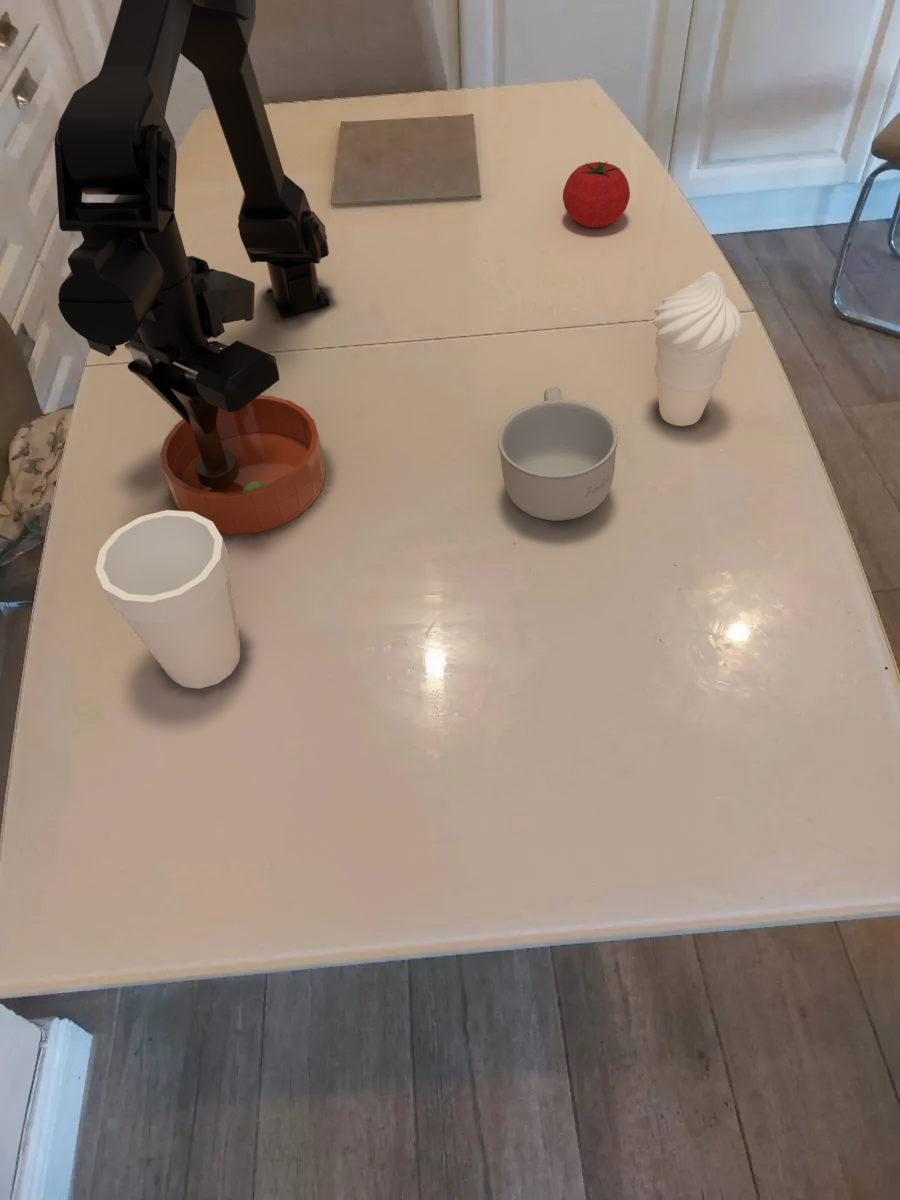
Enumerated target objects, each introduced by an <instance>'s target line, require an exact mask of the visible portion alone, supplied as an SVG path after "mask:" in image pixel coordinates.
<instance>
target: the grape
mask: <svg viewBox="0 0 900 1200" xmlns="http://www.w3.org/2000/svg"><path fill="white" fill-rule="evenodd" d="M264 485H267V484H266V483H264V482H260V481H255V482H251V483H249V484H248V485H247V486H246V487H245V488H244V490H243V491H247V490H252V489H255V488H258V487H261V486H264Z"/></svg>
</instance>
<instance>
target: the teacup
mask: <svg viewBox="0 0 900 1200" xmlns="http://www.w3.org/2000/svg"><path fill="white" fill-rule="evenodd" d="M618 442H619V433H618V429H617V427H616V424H615V423H614V420H612V418H611V417H610V416H609V415H608V414H607V413H606V412H604V411H603V410H602V409H600V408H598V407H596V406H594V405H592V404H589V403H587V402H582V401H577V400H570V399H569V400H568V399H562V391H561V388H559V386H558V387H557V386H551V387H547V388H546V389H544V393H543V401H539V402H535V403H532V404H529V405H526V406H524V407H522V408H521V409H518V410H516V412H514V413H513V414H511V415H510V416H509V417H508V418H507V419H506V420H505V421H504V423H502V426H501V428H500V430H499V432H498V436H497V446H498V451H499V455H500V463H501V464H500V465H501V466H500V467H501V472H502V473H501V474H502V479H503V483H504V487H505V490H506V493H507V495H508V497H509V498H510V499H511V501H512V502H513V504H514V505H515V506H516V507H517V508H519V509H520V510H521V511H523V512H524V513H526V514H527V515H529V516H532V517H535V518H537V519H540V520H546V521H554V522H555V521H567V520H568V521H569V520H574V519H578V518H580V517H582V516H585V515H587V514H589V513H591V512H593V511H594V510H595V509H596V508H597V507H599V506H600V505H601V504H602V503H603V501H604V500H605V499H606V498H607V496H608V495H609V492H610V490H611V488H612V484H613V481H614V475H615V468H616V467H615V466H616V456H617V454H616V453H617V447H618Z"/></svg>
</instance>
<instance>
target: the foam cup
mask: <svg viewBox="0 0 900 1200" xmlns="http://www.w3.org/2000/svg"><path fill="white" fill-rule="evenodd" d="M230 560H231V559H230V556H229V553H228V550H227V547H226V545H225V541H224V538H223V536H222V534H221V533H219V532H218V530H217V528H216V527H215V525H214V523H213V522H212V521H210V520H208V519H206V518H204V517H202V516H200V515H198V514H196V513H194V512H188V511H180V510H170V509H166V510H162V511H158V512H154V513H149V514H145V515H141V516H138V517H136V518H135V519H133V520H132V521H130V522H128V523H127V524H124V525H123V526H122V527H120V528H118V529H116V530H115V531H114V532H113V533H112V535H111V536H110V537H109V538H108V539H107V541H106V542H105V543H104V544H103V545H102V547H101V548H100V549H99V552H98V557H97V560H96V564H95V569H94V571H95V574H96V575H97V578H98V580H99V582H100V585H101V587H102V588H103V591H104V593H105V595H106V596H107V599H108V600H109V602H110V604H111V606H112V608H113V610H115V611H117V612H118V613H120V615H121V616H122V617H123V618H124V619H125V621H126V622H127V623H128V625H129V626H130V627H131V629H132V630H133V631H134V633H135V634H136V635H137V637H138V638H139V639H140V641H141V642H142V643H143V644H144V645H145V647H146V648H147V650H148V651H149V652H150V653H151V655H152V656H153V658H155V660H156V661H157V662H158V664H159V665H160V666H161V668H162V669H163V670H164V672H165V673H166V674H167V675H168V677H170V678H171V680H172V681H173V682H175V683H176V684H178V685H180V686H181V687H184V688H189V689H205V688H207V687H211V686H214V685H217V684H219V683H221V682H222V681H223V680H225V679H226V678H228V677H229V676H230V675H232V674H233V672H234V670H235V669H236V667H237V666H238V665H239V663H240V658H241V641H240V634H239V628H238V621H237V616H236V615H237V614H236V609H235V602H234V601H235V600H234V595H233V589H232V583H231V582H232V581H231V576H230V575H231V574H230Z"/></svg>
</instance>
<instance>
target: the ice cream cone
mask: <svg viewBox="0 0 900 1200" xmlns="http://www.w3.org/2000/svg"><path fill="white" fill-rule="evenodd" d="M726 291H727V290H726V286H725V284H724V282H723V279H722V278H721V277H720V275H719V274H717V272H715V271H707V272H704V273H703V274H702V275H700V276H698V277H696V278H695V279H694V281H693V282H692V283H690V284H689V285H687V286H686V287H684V288H681V289H678V290H676V291H674V292H673V294H672V295H671V296H666V297H664V298H663V299H662V305H660V306H658V307H656V308H655V309H654V313H655V316H656V317H655V318H654V319H653V320H652V324H653V326H654V327H655V328H656V329H657V331H656V334H655V335H656V337H655V346H656V357H655V359H656V360H655V361H656V362H655V365H654V374H655V376H656V386H657V396H658V409H659V415H660V417H661V418H662V420H664V422H666V423H667V424H670V425H673V426H677V427H687V426H692V425H695V424H696V423H697V422H698V421H700V419H701V418H702V415H703V413H704V411H705V409H706V407H707V404H708V402H709V400H710V398H711V396H712V394H713V391H714V389H715V387H716V385H717V384H718V383H719V382H720V380H721V378H722V374H723V373H722V371H723V367H724V364H725V362H726V358H727V355H728V354H729V353H730V350H731V349H732V348H731V347H732V344H733V343H734V342H735V340H736V339H737V338H738V335H739V333H740V331H741V329H742V317H741V313H740V311H739V310H738V308H737V306H736V305H735V303H734V302H733V301H732V300H731V299H730V298H729V297H727V292H726Z"/></svg>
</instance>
